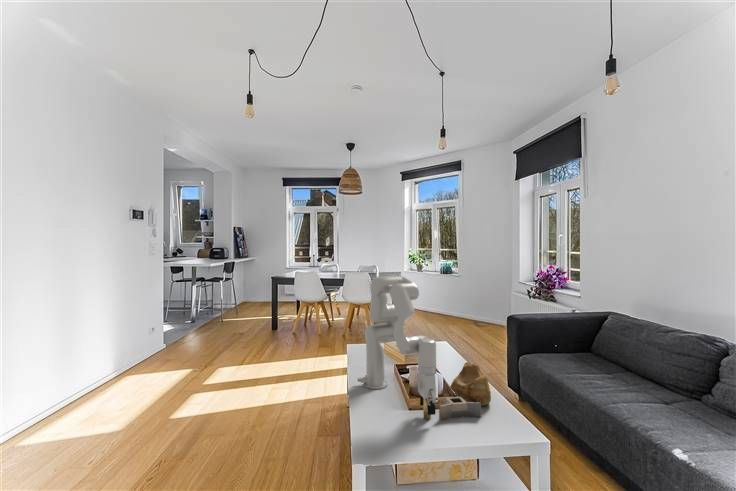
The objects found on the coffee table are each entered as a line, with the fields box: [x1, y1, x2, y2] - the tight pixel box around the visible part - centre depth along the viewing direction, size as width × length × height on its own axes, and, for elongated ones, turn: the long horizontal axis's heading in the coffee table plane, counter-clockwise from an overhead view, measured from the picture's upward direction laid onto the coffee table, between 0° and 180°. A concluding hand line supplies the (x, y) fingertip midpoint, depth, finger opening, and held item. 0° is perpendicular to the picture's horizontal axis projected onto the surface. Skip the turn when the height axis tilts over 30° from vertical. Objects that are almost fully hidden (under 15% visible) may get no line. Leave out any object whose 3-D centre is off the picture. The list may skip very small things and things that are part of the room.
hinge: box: [438, 396, 482, 421], centre depth 166 cm, size 19×8×6 cm, turn 100°
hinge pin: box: [422, 398, 432, 421], centre depth 162 cm, size 3×3×9 cm
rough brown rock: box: [449, 361, 492, 407], centre depth 184 cm, size 23×17×15 cm
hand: (427, 409), depth 162 cm, fingers open, 9 cm apart
